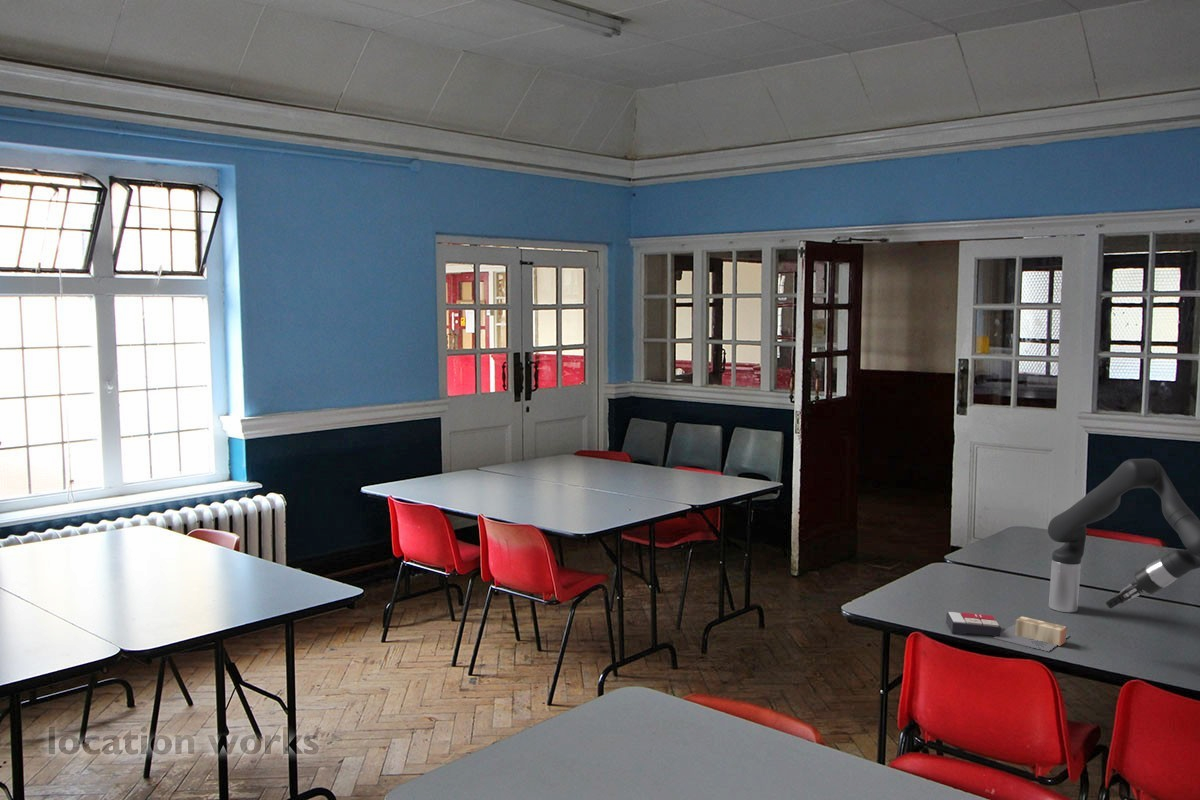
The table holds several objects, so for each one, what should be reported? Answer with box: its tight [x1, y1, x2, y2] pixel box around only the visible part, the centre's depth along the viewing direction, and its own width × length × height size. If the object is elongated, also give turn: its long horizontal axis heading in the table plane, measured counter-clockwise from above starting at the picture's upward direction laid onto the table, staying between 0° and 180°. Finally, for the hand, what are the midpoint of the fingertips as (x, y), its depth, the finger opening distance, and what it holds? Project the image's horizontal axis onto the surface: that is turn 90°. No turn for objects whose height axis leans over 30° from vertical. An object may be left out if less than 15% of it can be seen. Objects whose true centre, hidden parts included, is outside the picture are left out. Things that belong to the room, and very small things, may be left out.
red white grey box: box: [945, 611, 1002, 637], centre depth 320 cm, size 11×4×15 cm
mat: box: [993, 622, 1071, 653], centre depth 315 cm, size 20×17×1 cm
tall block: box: [1015, 615, 1067, 647], centre depth 313 cm, size 5×5×14 cm
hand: (1108, 605), depth 301 cm, fingers closed
